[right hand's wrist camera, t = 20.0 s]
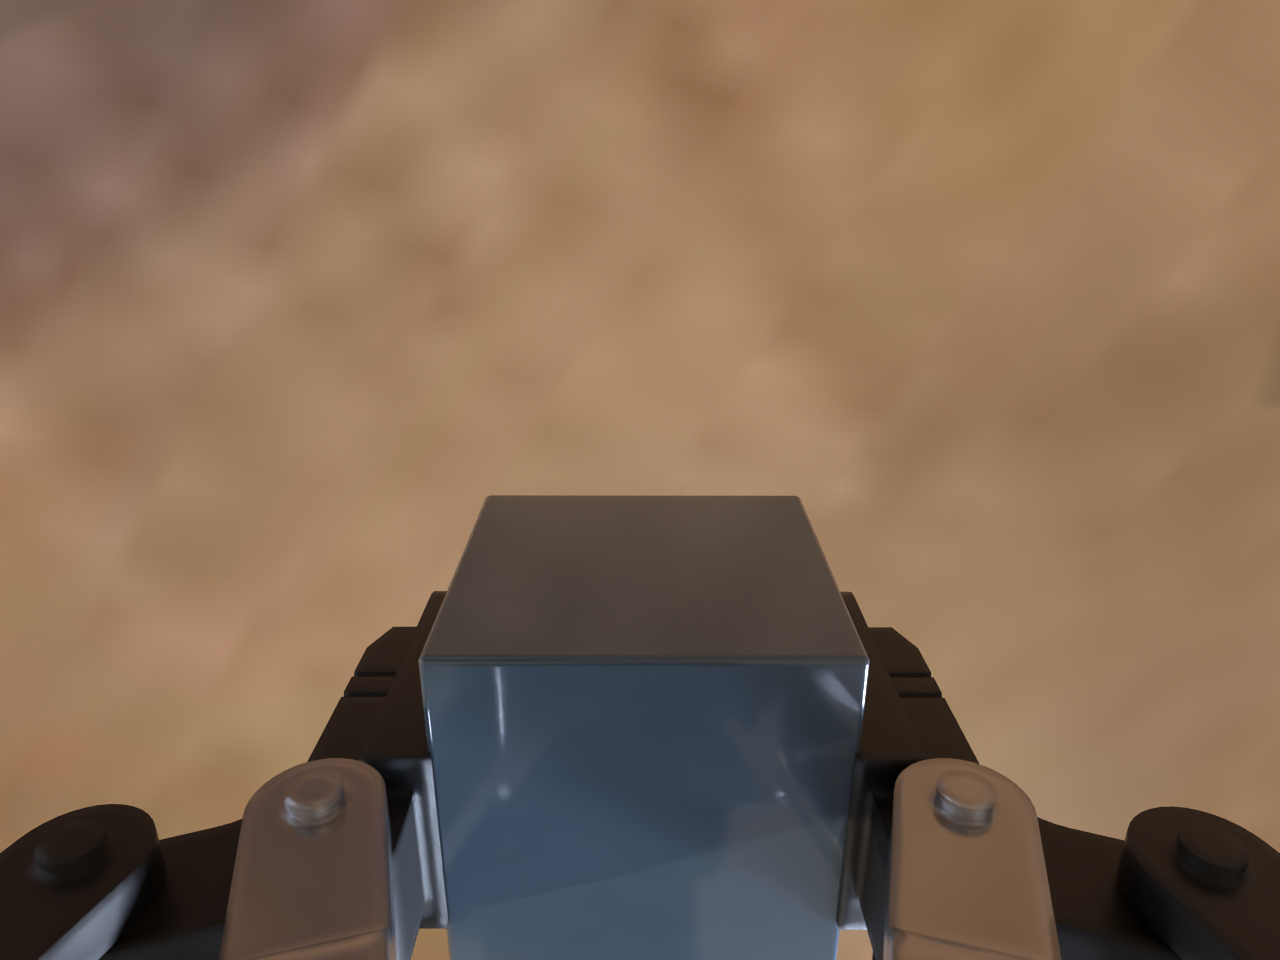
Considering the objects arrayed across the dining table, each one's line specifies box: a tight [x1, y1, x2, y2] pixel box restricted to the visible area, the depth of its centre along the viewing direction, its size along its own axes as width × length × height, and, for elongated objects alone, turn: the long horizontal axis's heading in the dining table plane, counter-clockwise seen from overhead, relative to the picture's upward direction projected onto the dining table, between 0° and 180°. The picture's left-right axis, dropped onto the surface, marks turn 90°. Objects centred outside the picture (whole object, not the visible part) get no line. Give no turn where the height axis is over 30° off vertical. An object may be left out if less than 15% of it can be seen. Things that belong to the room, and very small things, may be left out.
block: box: [418, 496, 870, 960], centre depth 11 cm, size 4×4×4 cm
